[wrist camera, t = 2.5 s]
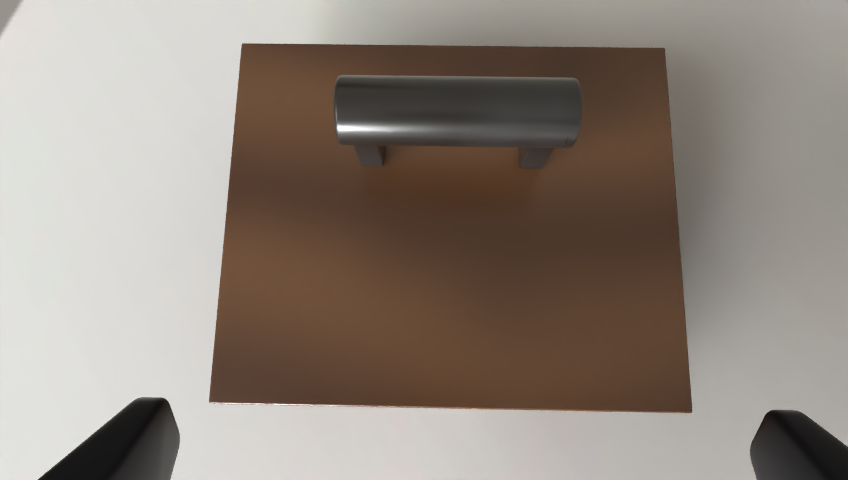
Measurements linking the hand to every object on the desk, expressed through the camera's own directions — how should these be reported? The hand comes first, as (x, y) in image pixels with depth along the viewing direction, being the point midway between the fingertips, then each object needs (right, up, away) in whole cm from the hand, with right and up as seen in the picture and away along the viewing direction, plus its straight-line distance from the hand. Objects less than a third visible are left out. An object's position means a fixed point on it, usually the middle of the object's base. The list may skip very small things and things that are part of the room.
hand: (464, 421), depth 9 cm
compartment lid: (0, +3, +8) cm, 9 cm away
